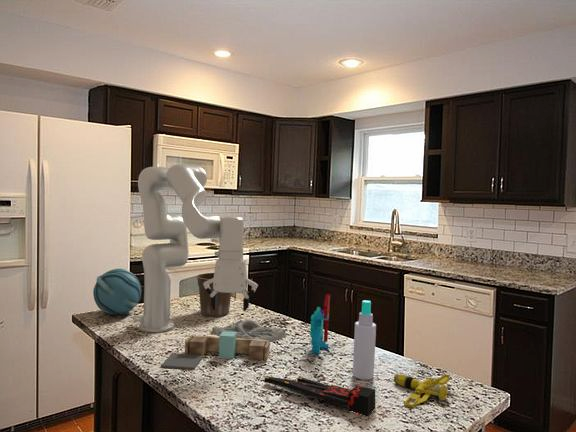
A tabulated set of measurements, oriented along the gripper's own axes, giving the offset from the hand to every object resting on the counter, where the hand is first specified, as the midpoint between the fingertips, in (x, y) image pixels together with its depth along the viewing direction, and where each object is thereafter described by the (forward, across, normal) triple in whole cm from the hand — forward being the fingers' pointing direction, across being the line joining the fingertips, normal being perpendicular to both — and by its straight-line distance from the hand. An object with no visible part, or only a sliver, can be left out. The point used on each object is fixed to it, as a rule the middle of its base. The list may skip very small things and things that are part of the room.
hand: (230, 309), depth 141 cm
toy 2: (+15, +28, +10) cm, 34 cm away
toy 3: (+16, +28, -23) cm, 40 cm away
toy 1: (+14, -54, +37) cm, 67 cm away
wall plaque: (+15, +2, +24) cm, 28 cm away
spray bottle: (+16, +41, -8) cm, 45 cm away
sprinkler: (+16, +55, -17) cm, 60 cm away
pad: (+15, -13, -8) cm, 21 cm away
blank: (+15, -1, 0) cm, 15 cm away
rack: (+15, -1, 0) cm, 15 cm away
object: (+14, -17, +48) cm, 53 cm away
